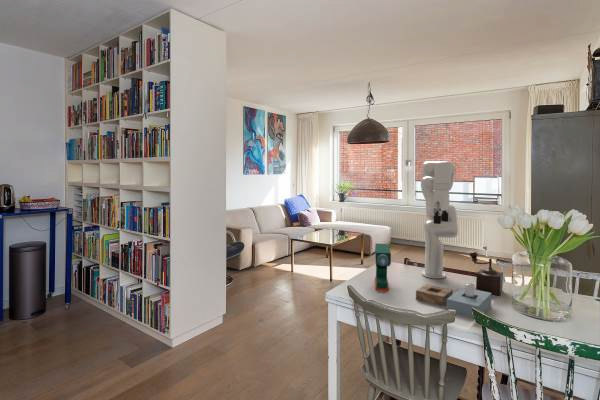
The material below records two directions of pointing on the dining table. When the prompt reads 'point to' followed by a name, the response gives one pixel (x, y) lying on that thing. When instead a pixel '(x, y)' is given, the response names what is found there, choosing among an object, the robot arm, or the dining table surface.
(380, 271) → the power tool
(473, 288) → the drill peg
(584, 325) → the dining table surface
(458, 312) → the slotted box
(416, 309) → the dining table surface
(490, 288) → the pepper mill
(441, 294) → the socket block
